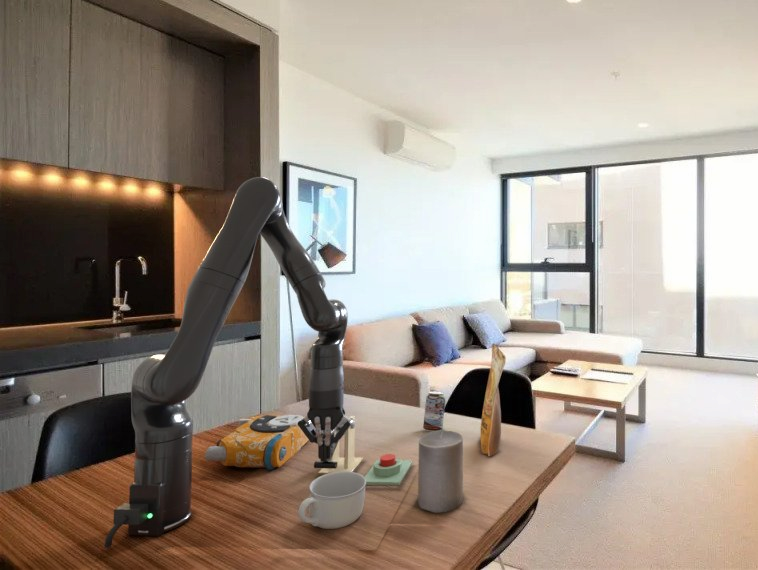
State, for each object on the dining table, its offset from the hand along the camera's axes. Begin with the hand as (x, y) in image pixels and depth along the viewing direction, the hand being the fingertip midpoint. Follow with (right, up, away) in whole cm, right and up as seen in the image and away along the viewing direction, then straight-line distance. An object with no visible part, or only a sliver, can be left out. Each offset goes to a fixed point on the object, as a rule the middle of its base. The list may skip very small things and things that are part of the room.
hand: (325, 460), depth 106 cm
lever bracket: (0, -7, +9) cm, 11 cm away
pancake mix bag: (+38, -7, +25) cm, 46 cm away
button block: (+13, -6, +5) cm, 15 cm away
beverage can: (+19, -8, +36) cm, 42 cm away
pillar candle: (+28, -6, -7) cm, 29 cm away
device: (-25, -7, +20) cm, 33 cm away
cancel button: (+13, -3, +5) cm, 14 cm away
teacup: (+8, -6, -16) cm, 19 cm away
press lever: (0, +1, +6) cm, 6 cm away
